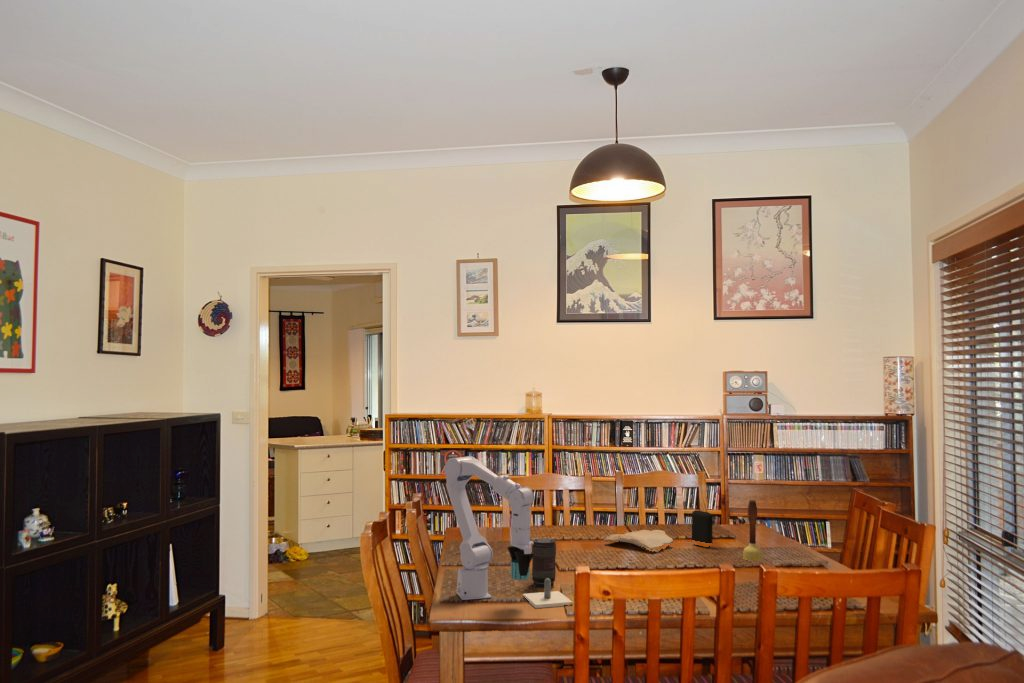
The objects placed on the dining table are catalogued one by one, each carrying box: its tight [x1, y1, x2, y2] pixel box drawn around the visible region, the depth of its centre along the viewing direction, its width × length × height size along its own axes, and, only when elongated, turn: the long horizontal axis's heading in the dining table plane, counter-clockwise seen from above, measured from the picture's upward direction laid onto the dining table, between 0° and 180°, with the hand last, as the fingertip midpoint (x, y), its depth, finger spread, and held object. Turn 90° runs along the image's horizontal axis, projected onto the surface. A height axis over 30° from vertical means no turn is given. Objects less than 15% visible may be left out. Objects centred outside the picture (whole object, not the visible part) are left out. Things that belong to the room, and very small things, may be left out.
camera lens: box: [531, 537, 557, 589], centre depth 250 cm, size 8×8×15 cm
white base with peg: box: [522, 578, 574, 609], centre depth 232 cm, size 12×12×7 cm
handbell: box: [742, 499, 763, 561], centre depth 277 cm, size 12×12×25 cm
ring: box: [510, 559, 531, 581], centre depth 226 cm, size 6×6×5 cm
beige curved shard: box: [603, 529, 674, 548], centre depth 311 cm, size 24×8×20 cm
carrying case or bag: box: [691, 509, 715, 544], centre depth 312 cm, size 11×3×15 cm, turn 41°
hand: (520, 572), depth 226 cm, fingers closed on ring, 6 cm apart
